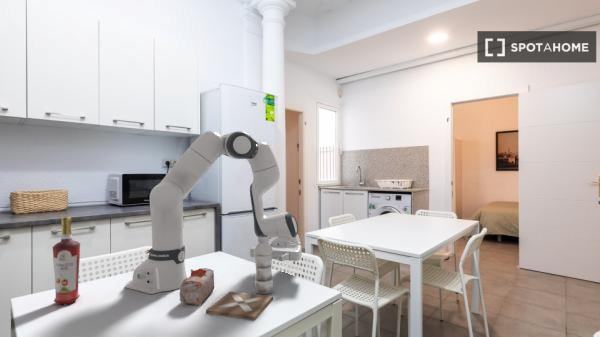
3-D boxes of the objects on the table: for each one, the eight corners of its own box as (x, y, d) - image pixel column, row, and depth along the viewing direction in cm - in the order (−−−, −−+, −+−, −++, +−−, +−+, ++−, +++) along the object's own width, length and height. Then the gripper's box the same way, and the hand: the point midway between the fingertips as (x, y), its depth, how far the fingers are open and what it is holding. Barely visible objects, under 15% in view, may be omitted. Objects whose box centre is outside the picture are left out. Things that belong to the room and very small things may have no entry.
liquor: (50, 308, 100) (49, 220, 100) (56, 300, 106) (55, 216, 106) (78, 304, 103) (77, 218, 103) (82, 296, 109) (81, 215, 109)
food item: (202, 307, 100) (202, 276, 100) (177, 307, 101) (177, 276, 101) (216, 290, 114) (216, 263, 114) (194, 290, 114) (194, 263, 114)
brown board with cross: (206, 313, 96) (206, 309, 96) (230, 294, 110) (230, 291, 110) (254, 319, 91) (254, 316, 91) (273, 299, 106) (273, 295, 106)
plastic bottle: (270, 297, 107) (270, 238, 107) (251, 295, 109) (251, 237, 109) (275, 290, 114) (275, 234, 114) (257, 288, 115) (257, 233, 115)
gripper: (257, 239, 132) (242, 247, 119) (304, 242, 127) (294, 251, 113) (257, 254, 132) (242, 264, 119) (304, 258, 127) (294, 268, 113)
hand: (268, 258), depth 116 cm, fingers open, 8 cm apart
